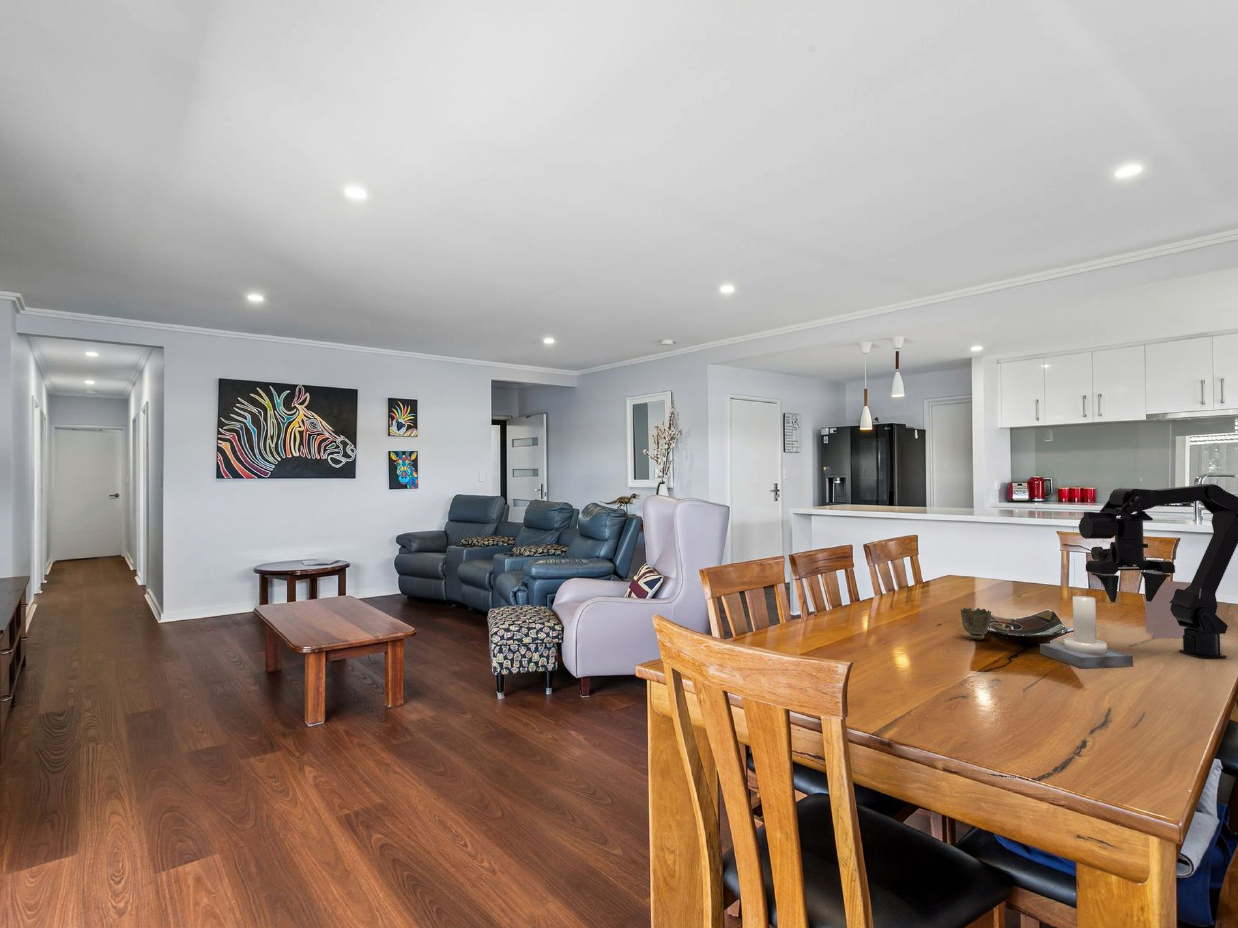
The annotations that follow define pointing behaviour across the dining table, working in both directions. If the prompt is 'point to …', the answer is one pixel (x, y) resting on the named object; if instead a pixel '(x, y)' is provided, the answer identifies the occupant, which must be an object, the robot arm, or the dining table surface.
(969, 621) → the cup
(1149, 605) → the greeting card
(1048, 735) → the dining table surface
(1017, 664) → the dining table surface
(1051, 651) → the grey block
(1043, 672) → the dining table surface
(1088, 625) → the cream cylindrical piece
